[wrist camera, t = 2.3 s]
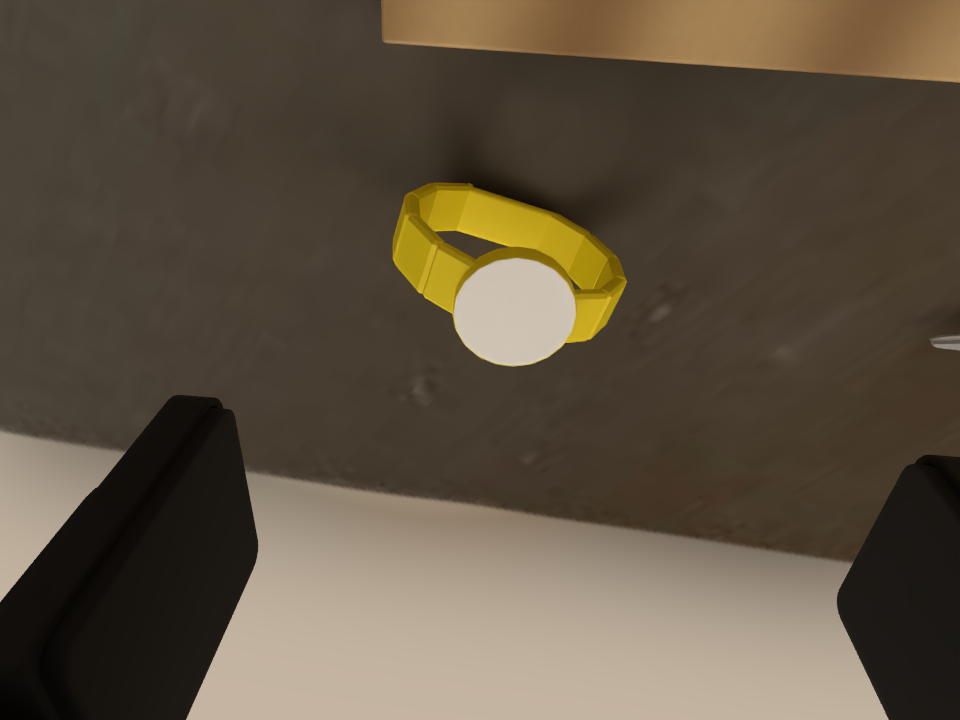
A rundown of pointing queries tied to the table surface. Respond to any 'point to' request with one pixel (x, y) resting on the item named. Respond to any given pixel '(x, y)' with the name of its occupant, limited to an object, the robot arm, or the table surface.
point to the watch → (507, 272)
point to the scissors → (946, 341)
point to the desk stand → (701, 32)
